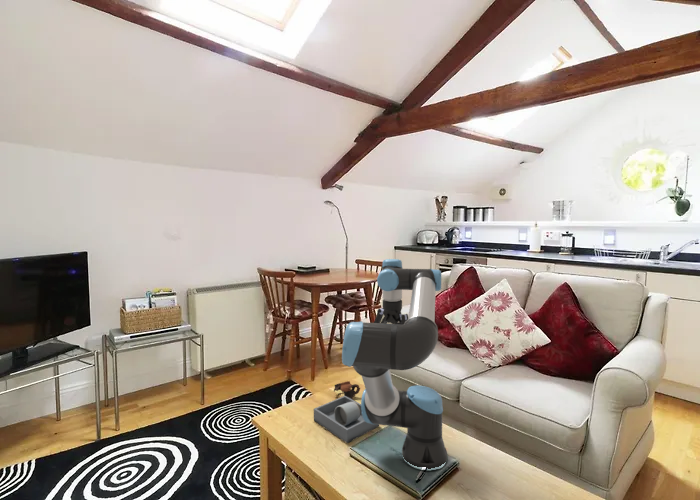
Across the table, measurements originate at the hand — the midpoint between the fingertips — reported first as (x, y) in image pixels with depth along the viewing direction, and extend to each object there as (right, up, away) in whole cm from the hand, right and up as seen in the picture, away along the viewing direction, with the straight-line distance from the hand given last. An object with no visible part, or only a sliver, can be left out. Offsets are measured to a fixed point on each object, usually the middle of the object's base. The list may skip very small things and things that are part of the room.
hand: (392, 352), depth 149 cm
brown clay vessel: (-18, -27, +24) cm, 41 cm away
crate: (-18, -29, +2) cm, 34 cm away
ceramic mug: (-18, -28, +2) cm, 34 cm away
